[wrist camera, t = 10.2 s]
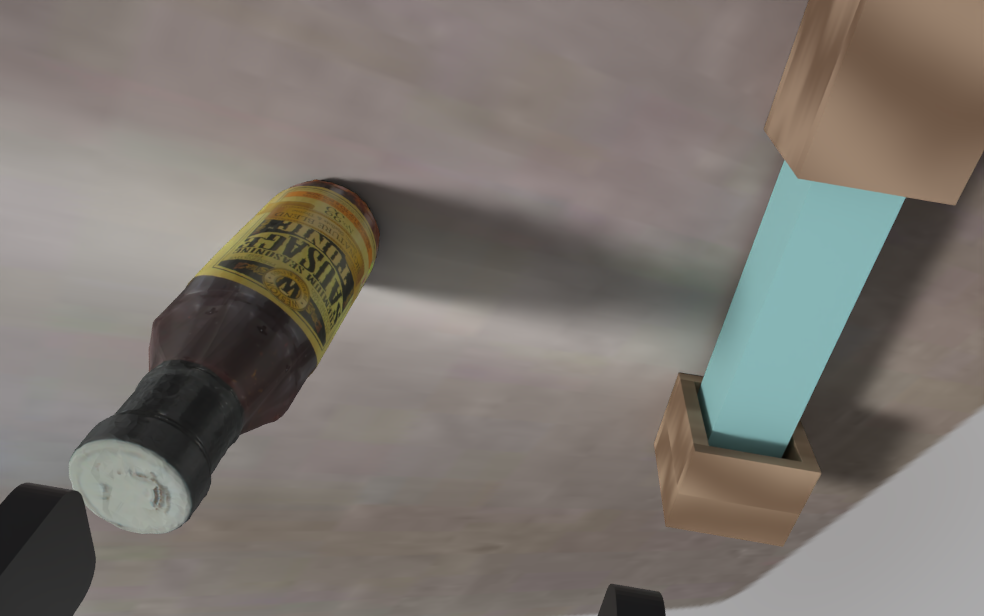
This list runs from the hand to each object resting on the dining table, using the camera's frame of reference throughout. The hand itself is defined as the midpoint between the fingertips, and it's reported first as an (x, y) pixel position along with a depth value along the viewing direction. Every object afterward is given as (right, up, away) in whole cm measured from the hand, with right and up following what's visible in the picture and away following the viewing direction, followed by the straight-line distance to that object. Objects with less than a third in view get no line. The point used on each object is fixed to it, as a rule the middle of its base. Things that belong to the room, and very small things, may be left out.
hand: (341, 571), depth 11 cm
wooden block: (+19, +16, +21) cm, 33 cm away
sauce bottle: (-7, +9, +29) cm, 31 cm away
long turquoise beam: (+17, +5, +27) cm, 33 cm away
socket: (+16, -2, +33) cm, 37 cm away
